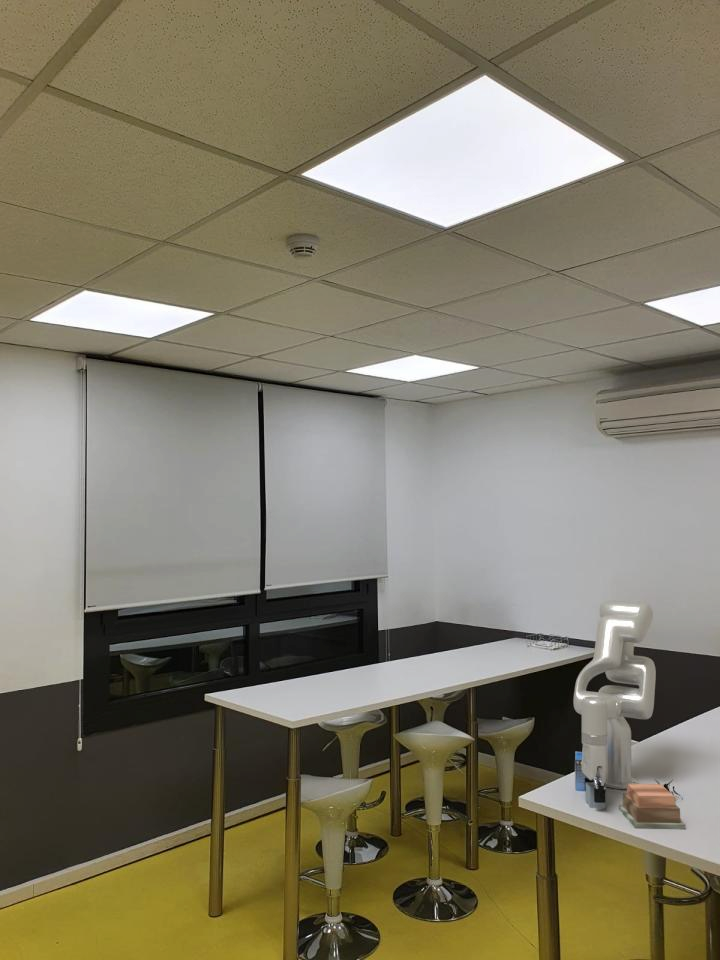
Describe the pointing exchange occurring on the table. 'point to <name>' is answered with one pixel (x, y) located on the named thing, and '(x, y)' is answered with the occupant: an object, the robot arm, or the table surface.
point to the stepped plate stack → (651, 807)
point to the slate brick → (592, 796)
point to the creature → (668, 788)
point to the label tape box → (579, 773)
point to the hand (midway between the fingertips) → (594, 796)
